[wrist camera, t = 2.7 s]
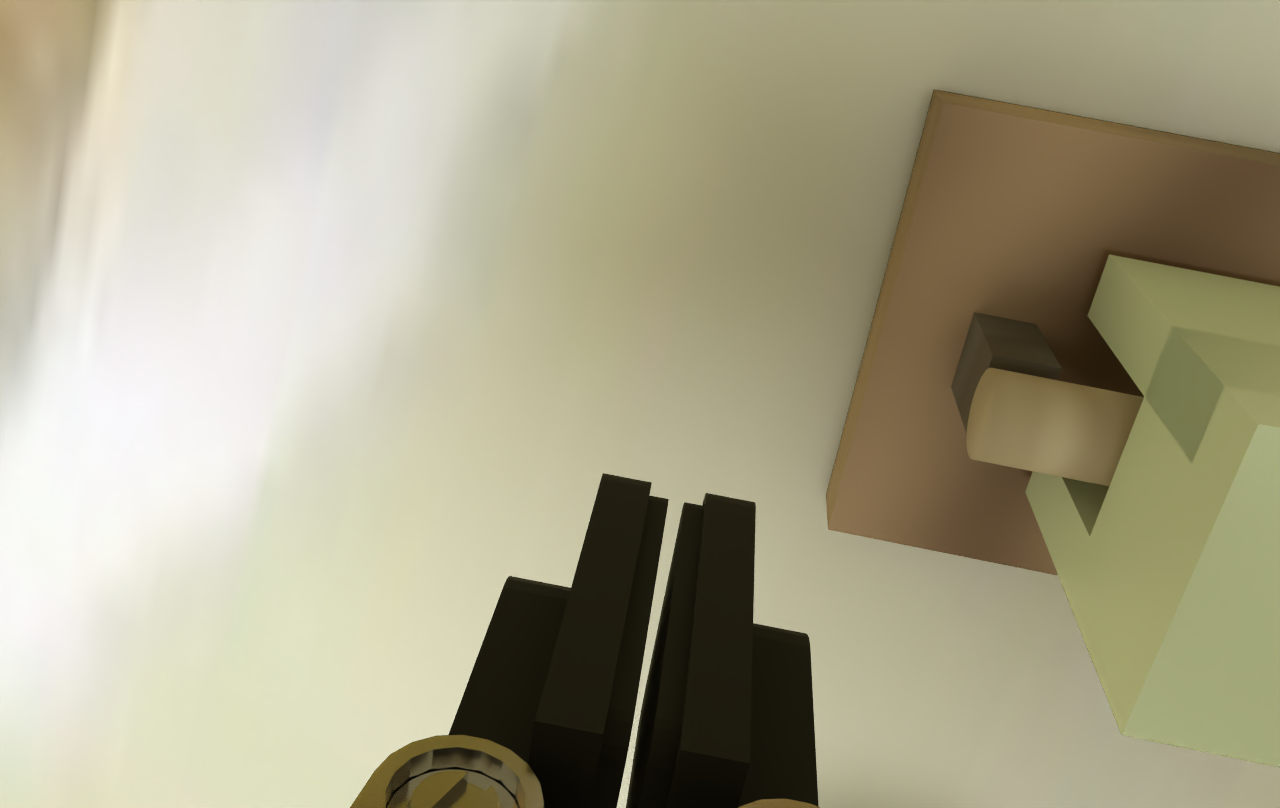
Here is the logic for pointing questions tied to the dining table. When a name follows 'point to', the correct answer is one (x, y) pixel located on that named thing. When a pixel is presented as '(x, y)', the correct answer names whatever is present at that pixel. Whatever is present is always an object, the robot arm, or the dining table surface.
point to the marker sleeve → (1183, 515)
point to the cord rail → (1024, 315)
